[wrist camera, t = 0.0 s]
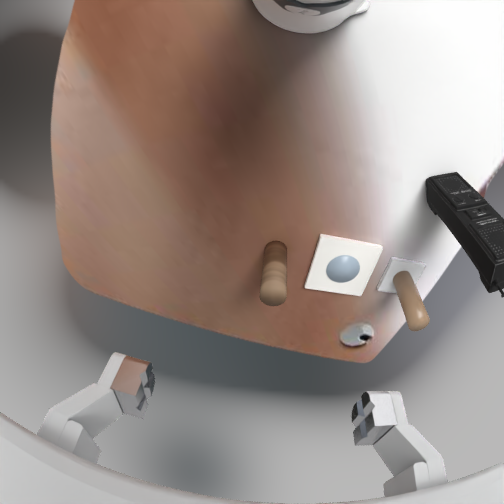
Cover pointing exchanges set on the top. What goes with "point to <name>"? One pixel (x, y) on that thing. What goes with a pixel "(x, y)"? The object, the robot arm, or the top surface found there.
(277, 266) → the walnut pin
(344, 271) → the plate
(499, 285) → the portable radio
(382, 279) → the tan wooden dowel
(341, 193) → the top surface
